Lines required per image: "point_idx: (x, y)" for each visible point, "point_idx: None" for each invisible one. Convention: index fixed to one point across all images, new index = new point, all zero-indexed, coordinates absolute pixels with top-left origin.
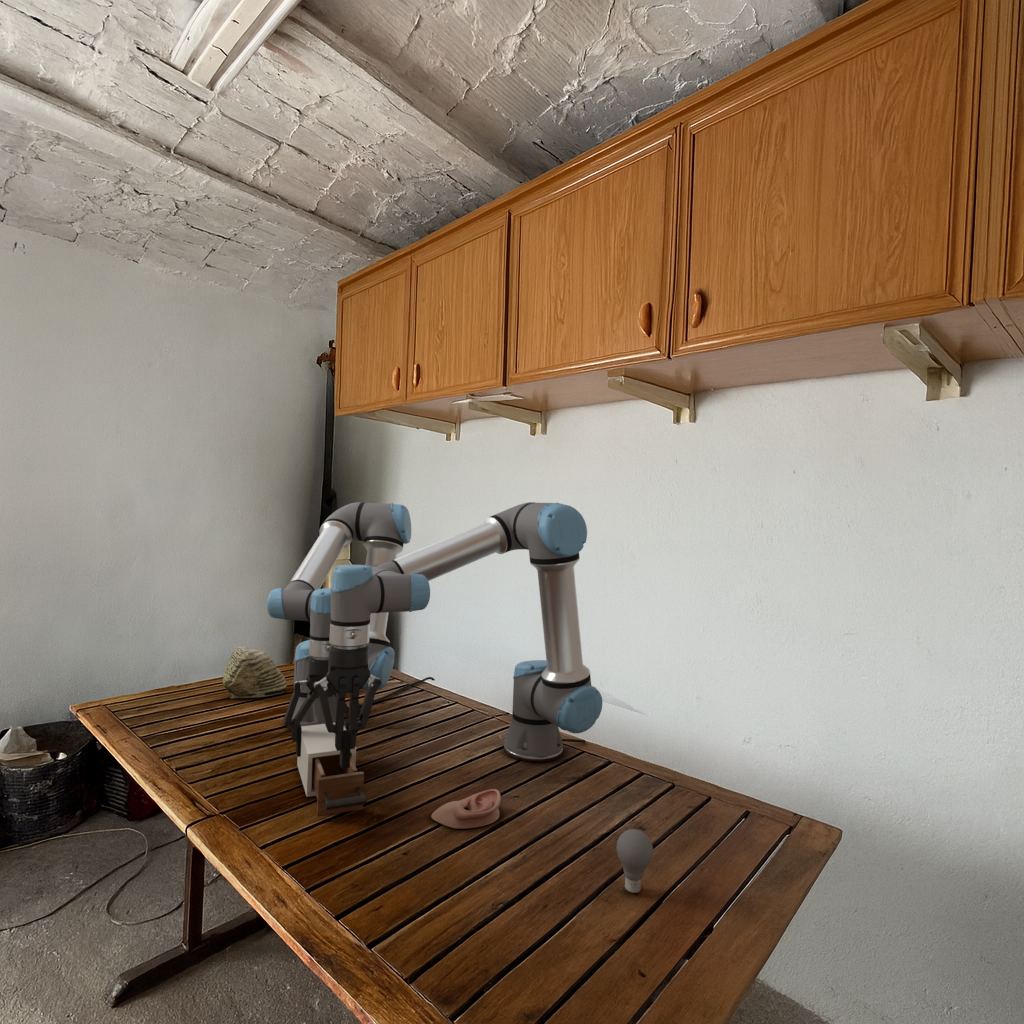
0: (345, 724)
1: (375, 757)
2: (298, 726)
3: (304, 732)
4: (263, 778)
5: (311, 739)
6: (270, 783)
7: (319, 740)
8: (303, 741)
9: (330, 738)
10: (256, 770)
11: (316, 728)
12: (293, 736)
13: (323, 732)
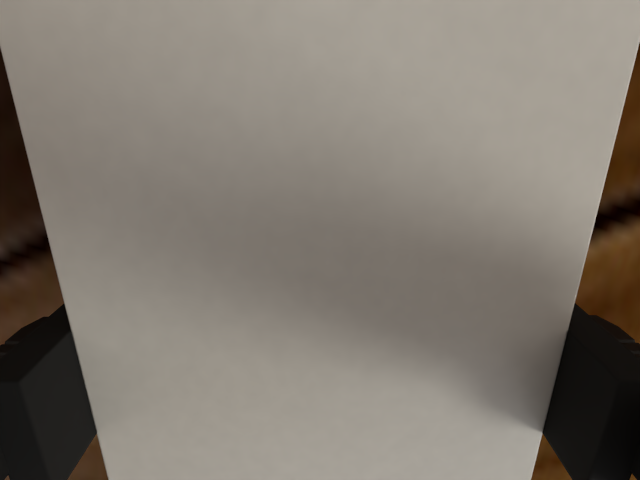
0: (58, 401)
1: (23, 289)
2: (634, 435)
3: (520, 373)
4: (625, 220)
5: (514, 143)
6: (614, 145)
7: (429, 68)
8: (612, 131)
9: (275, 101)
10: (623, 320)
11: (378, 436)
12: (625, 343)
13: (329, 318)
